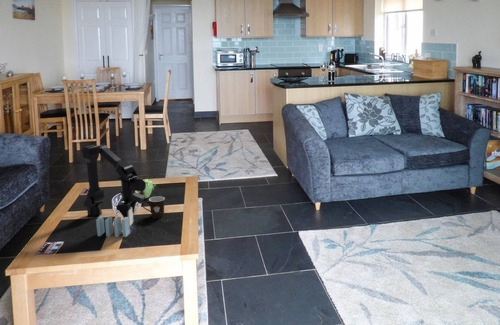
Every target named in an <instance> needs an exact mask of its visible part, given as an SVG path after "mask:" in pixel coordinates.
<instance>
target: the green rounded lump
mask: <svg viewBox="0 0 500 325" xmlns="http://www.w3.org/2000/svg"><path fill="white" fill-rule="evenodd" d="M153 180H154V179H152V178H150V179H149V178H145V179H143V181H145V183H146V188H145V190H144V191H143V192H144V194H145V198H144V199H149V198H150V196H151V194H152V191H154V190H155V187H156V183H155V184H153ZM137 192H138V193H140V191H136V193H137Z"/></svg>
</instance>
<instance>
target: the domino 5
mask: <svg viewBox="0 0 500 325" xmlns="http://www.w3.org/2000/svg"><path fill="white" fill-rule="evenodd" d="M130 208H131V209H130V210H129V211H128V217H129V227H130V226H132V224H133V223H134V215H133V210H132V207H130Z"/></svg>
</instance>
